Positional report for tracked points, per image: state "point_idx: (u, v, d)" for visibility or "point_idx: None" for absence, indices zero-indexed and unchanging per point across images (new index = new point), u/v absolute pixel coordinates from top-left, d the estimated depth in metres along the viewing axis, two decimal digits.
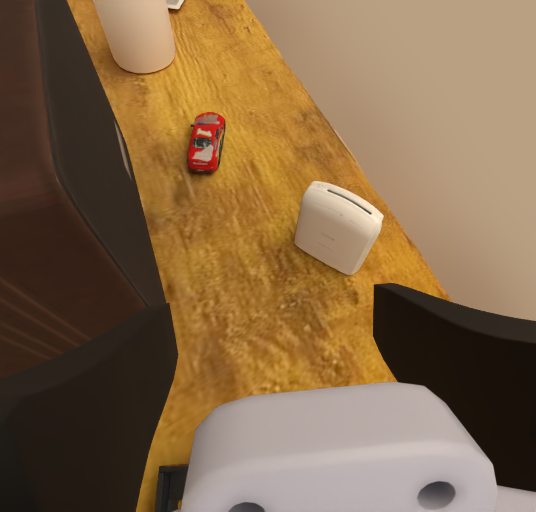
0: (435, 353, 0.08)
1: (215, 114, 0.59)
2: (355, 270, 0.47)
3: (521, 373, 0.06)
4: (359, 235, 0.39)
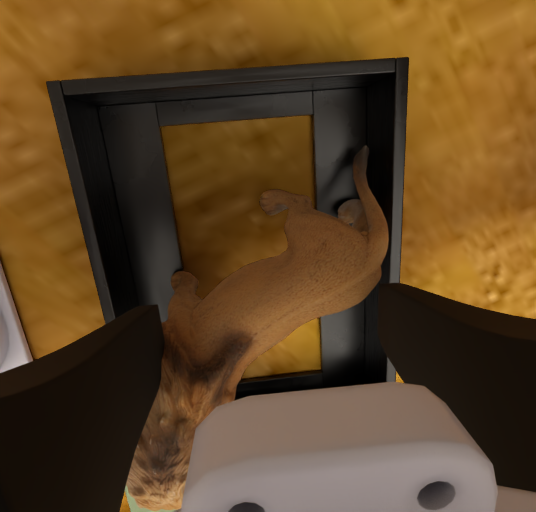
0: (442, 352, 0.08)
1: None
2: None
3: (531, 372, 0.06)
4: None
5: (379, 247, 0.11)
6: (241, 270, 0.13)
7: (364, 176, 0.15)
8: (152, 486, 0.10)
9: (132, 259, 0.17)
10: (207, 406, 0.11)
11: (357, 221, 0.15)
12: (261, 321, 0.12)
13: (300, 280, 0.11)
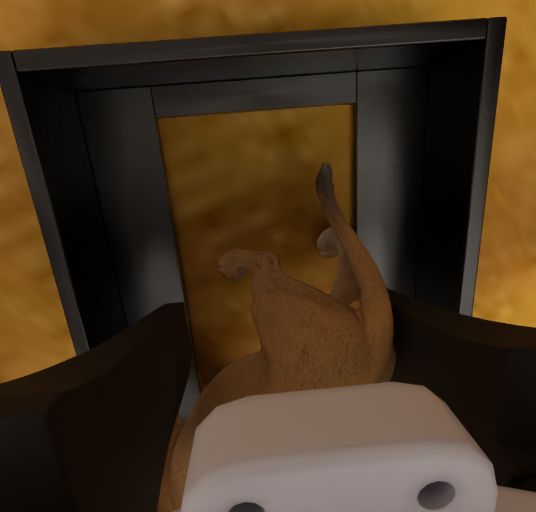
0: (411, 355, 0.08)
1: None
2: None
3: (485, 376, 0.06)
4: None
5: (382, 329, 0.08)
6: (214, 388, 0.10)
7: (334, 205, 0.11)
8: None
9: (123, 285, 0.14)
10: None
11: (343, 262, 0.11)
12: None
13: None
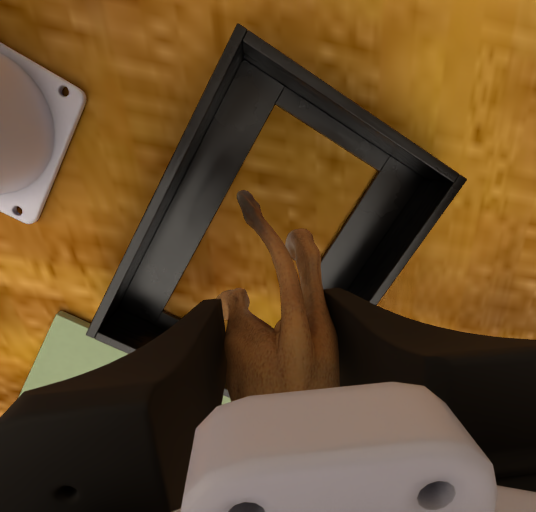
0: (361, 360, 0.08)
1: None
2: None
3: (411, 384, 0.06)
4: None
5: (290, 348, 0.08)
6: None
7: (260, 225, 0.11)
8: None
9: (185, 181, 0.19)
10: None
11: (298, 269, 0.12)
12: None
13: None
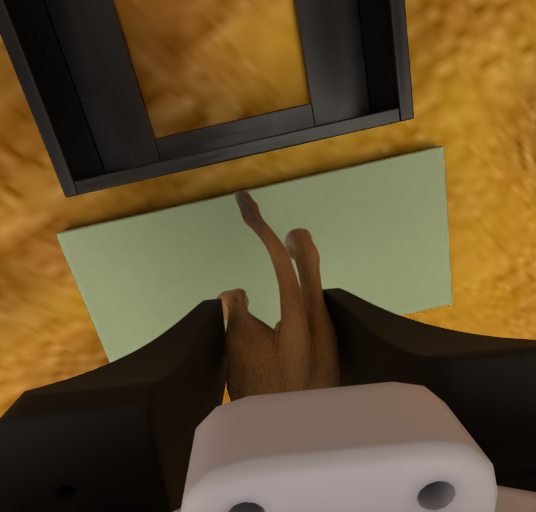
0: (361, 360, 0.08)
1: None
2: None
3: (410, 384, 0.06)
4: None
5: (290, 348, 0.08)
6: None
7: (259, 225, 0.11)
8: None
9: None
10: None
11: (297, 268, 0.12)
12: None
13: None
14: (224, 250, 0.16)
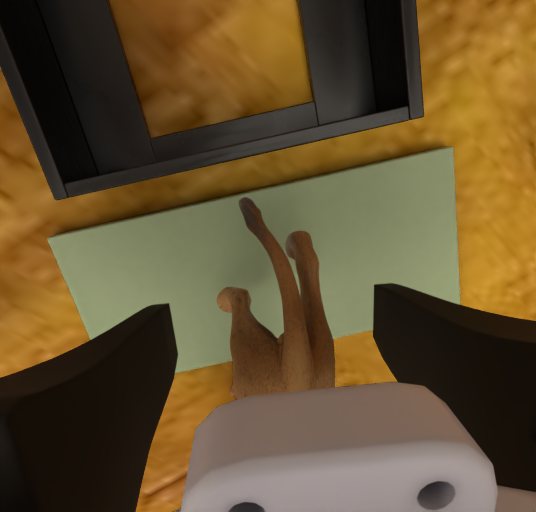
0: (435, 353, 0.08)
1: None
2: None
3: (521, 373, 0.06)
4: None
5: (292, 363, 0.09)
6: None
7: (262, 233, 0.12)
8: None
9: None
10: None
11: (298, 274, 0.12)
12: None
13: None
14: (223, 255, 0.16)
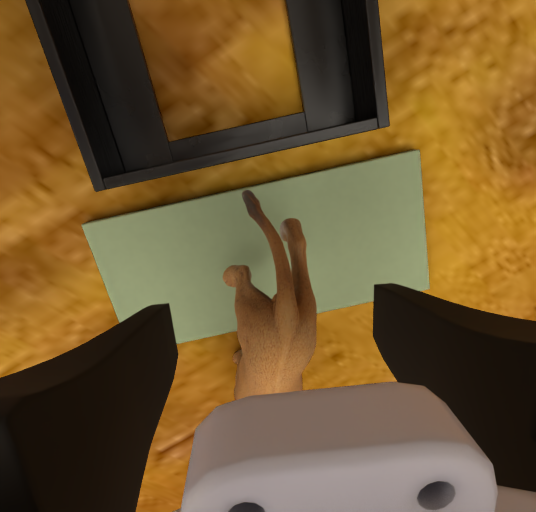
0: (435, 353, 0.08)
1: None
2: None
3: (520, 373, 0.06)
4: None
5: (283, 313, 0.12)
6: (239, 364, 0.16)
7: (260, 219, 0.15)
8: None
9: None
10: None
11: (289, 252, 0.15)
12: None
13: (254, 376, 0.13)
14: (228, 239, 0.19)
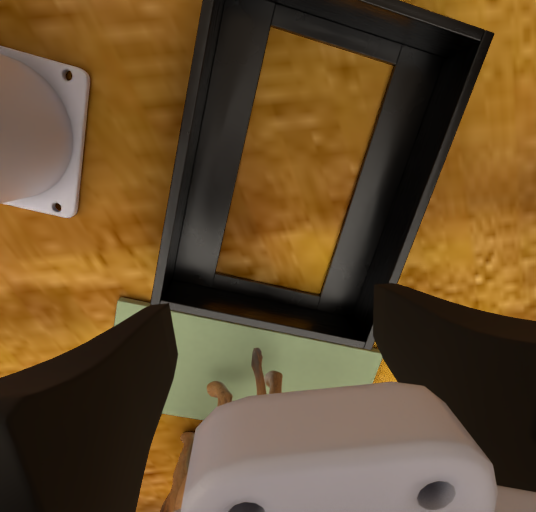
0: (435, 353, 0.08)
1: None
2: None
3: (521, 373, 0.06)
4: None
5: None
6: None
7: (258, 374, 0.20)
8: None
9: (203, 133, 0.19)
10: None
11: None
12: None
13: None
14: (223, 355, 0.23)
